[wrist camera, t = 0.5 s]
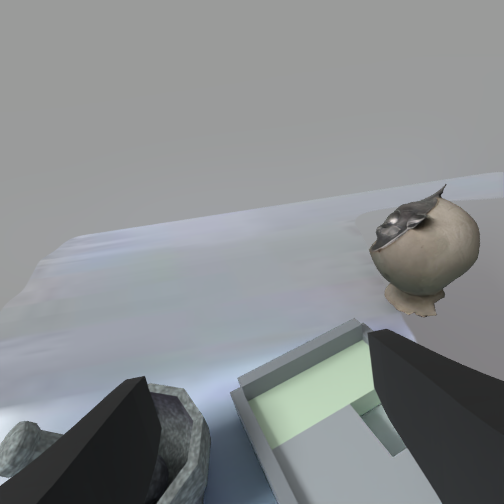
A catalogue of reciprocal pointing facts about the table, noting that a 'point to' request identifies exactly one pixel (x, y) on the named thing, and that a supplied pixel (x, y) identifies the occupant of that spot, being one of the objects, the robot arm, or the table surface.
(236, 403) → the trap lane
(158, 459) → the mortar and pestle
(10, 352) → the table surface
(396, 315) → the table surface
